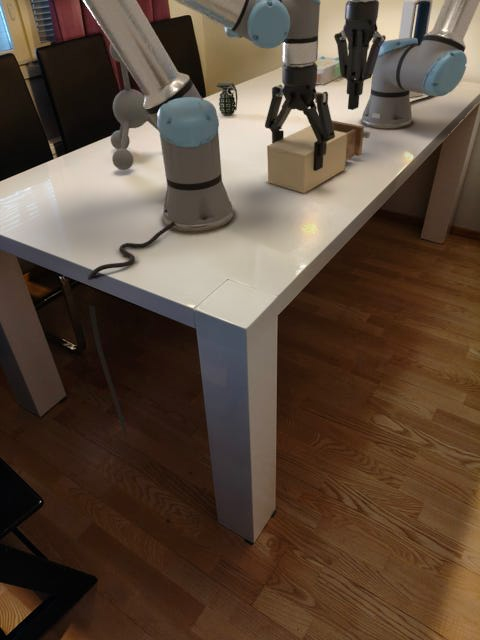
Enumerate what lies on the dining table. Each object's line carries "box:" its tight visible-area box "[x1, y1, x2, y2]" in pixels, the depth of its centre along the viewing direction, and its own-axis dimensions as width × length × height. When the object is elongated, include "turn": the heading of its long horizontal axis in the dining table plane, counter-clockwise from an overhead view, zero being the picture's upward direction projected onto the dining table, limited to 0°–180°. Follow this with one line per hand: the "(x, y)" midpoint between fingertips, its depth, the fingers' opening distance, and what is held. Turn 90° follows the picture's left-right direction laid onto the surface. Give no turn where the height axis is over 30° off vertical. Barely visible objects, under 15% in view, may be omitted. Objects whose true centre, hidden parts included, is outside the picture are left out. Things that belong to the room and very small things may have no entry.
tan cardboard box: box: [266, 125, 347, 194], centre depth 120 cm, size 17×11×9 cm, turn 137°
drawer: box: [332, 120, 371, 162], centre depth 126 cm, size 22×10×7 cm, turn 137°
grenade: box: [215, 82, 238, 117], centre depth 166 cm, size 7×6×10 cm
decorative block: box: [314, 56, 342, 85], centre depth 205 cm, size 26×6×20 cm
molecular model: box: [109, 43, 158, 171], centre depth 131 cm, size 24×22×30 cm
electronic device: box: [398, 0, 433, 98], centre depth 170 cm, size 12×8×30 cm, turn 105°
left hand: (297, 163), depth 118 cm, fingers closed on tan cardboard box, 11 cm apart
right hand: (353, 108), depth 126 cm, fingers closed
